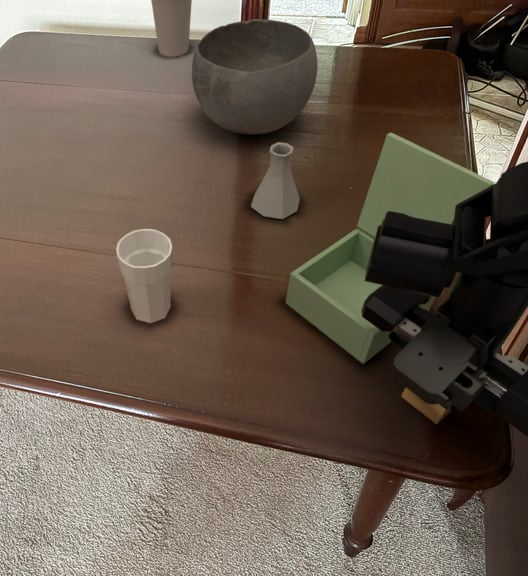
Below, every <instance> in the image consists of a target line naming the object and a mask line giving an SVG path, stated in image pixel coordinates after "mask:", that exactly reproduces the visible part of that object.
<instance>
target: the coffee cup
mask: <svg viewBox="0 0 528 576" xmlns="http://www.w3.org/2000/svg"><path fill="white" fill-rule="evenodd" d="M192 3H193V2H192V0H151V8H152V14H153V21H154V27H155V28H154V29H155V36H156V42H157V48H158V49H157V50H158V53H159V54H160V55H161V56H164V57H168V58H173V57H174V58H176V57H180V56H183V55H185V54H186V53H188V51H189V50H190V49H189V47H190V31H191V19H192Z"/></svg>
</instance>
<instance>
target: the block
mask: <svg viewBox="0 0 528 576" xmlns="http://www.w3.org/2000/svg"><path fill="white" fill-rule="evenodd" d="M400 397H402V399H404V400H405V402H406V401H407V402H408V403H409V404H410V405H411V406H413V408H415V409H416V410H418V411H419V412H421V414H422V415H424V416H425V417H426V418H428V419H429V420H430V421H432V422H433V423H434V424H435V425H438V424H439V423H440V422H441V421H443V420H444V418H445V417H447V416H448V415H449V414H450V413H452V411H450V409H451V407H452V406H450V407H449V408H448V409H447V410H446V409H444V408H443V407H442V406H441V405H439V404H434V405H432V404H428V403H425V402H424V401H423V400H421V399H420V398H419V397H418V396H417V395H416V394H414V393H413V392H412V391H411V390H409V389H408V388H407V387H405V388H404V390H403V392H402V393H401V396H400Z"/></svg>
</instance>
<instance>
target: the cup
mask: <svg viewBox="0 0 528 576" xmlns="http://www.w3.org/2000/svg"><path fill="white" fill-rule="evenodd" d="M115 250H116V256H117V261H118V265H119V270H120V274H121V275H122V277H123V279H124V285H125V288H126V293H127V296H128V301H129V305H130V311H131V312H132V314H133V316H134V317H135V319H136V320H138V321H141V322H145V323H148V324H154V323H155V322H158V321H162V320H163V319H166V318H167V315H168V313H169V311H170V309H171V287H172V285H171V284H172V283H171V282H172V280H171V279H172V267H173V244H172V240H171V238H170V237H169V236H168V235H167V234H165V233H164V232H162V231H160V230H157V229H155V228H154V229H153V228H142V229H135V230H132V231H130V232H128V233H127V234H124V236H123V237H121V239H119V240H118V242H117V244H116V249H115Z"/></svg>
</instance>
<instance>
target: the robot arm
mask: <svg viewBox="0 0 528 576" xmlns="http://www.w3.org/2000/svg"><path fill="white" fill-rule="evenodd" d="M487 218H490V222H489V223H490V227H489V238H486V237H487V236H486V235H487V234H486V233H487ZM374 238H375V239H374V243H373V246H372V250H371V254H370V258H369V262H368V266H367V270H366V275H365V280H364V281H366V282H370V283H375V284H379V285H382V286H381V287H379V288H378V289H377V290H375V291H374V292H373V293H371V294H370V295H369V296H368V297H367V299H366V300H365V301H364V304H363V308H362V311H361V312H362V317H363V318H364V319H366V320H367V321H369V322H370V323H371V324H373V325H374V326H375V327H377V328H378V329H380V330H381V331H382V332H391V331H392V330H393V331H392V332H391V333H390V334H389V339H390V340H391V343H393V344H394V345H396V346H397V347H399V348H400V349H401V350H400V351H399V352H398V353H397V354H396V355H395V356H394V357H393V364H392V365H393V366H392V368H393V369H392V370H393V371H392V374H393V378H394V379H395V380H396V381H397V382H398V383H399V384H400V385H403V386H404V387H405V388H406V387H407V388H408V389H409V390H411V391H412V392H413V393H414V394H416V395H417V396H418V397H419V398H420V399H421V400H423V401H424V402H425V403H428V404H432V405H434V404H439V405H441V406H442V407H443V408H444V409H446V410H447V409H448V408H449V407H450V406H452V407H451V409H450V411H451V413H455V412H459V411H461V412H463V411H464V410H465V409H467V408H468V407H471V406H474V405H478V406H480V407H481V408H482V409H483V410H485V411H486V412H488V413H497V415H498V417H499V418H501V419H502V420H504V421H505V422H506V423H508V424H509V425H510V426H512V427H513V428H514V429H516V430H517V431H519V432H520V433H522V434H523V435H524V436H525V437H528V365H527V364H526V363H524V362H523V361H521V360H519V359H518V358H517V357H515V356H513V355H510V354H509V355H502V354H500V353H499V352H500V350H501V348H502V347H503V346H504V344H505V342H506V341H507V339H508V338H509V337H510V335H511V334H512V332H513V330H514V329H515V327H516V326H517V324H518V322H519V321H520V319H521V318H522V316H523V315H524V313H525V311H526V310H527V309H528V161H523V162H521V163H517V164H516V165H513V166H512V167H510V168H508V169H506V170H504V172H502V173H501V174H500V177H499V178H498V180H497V182H494V184H493V185H492V186H490V187H488V188H486V189H484V190H482V191H481V192H479V193H477V194H475V195H473V196H472V197H470V198H468V199H466V200H464V201H462V202H461V203H459V204H457V205H456V206H455V215H454V219H453V222H452V224H447V223H441V222H436V221H431V220H425V219H420V218H415V217H411V216H408V215H406V214H403V213H398V212H393V211H388V212H386V215H385V218H384V219H383V221H382V224H381V226H380V225H379V226H378V229H377V232H376V236H375V237H374ZM457 273H459V274H458V275H457V277H456V274H457ZM455 277H456V280H455ZM454 280H455V281H454ZM453 282H454V284H453ZM452 284H453V285H452ZM451 286H452V288H451ZM445 288H447V289H449V288H451V289H450V292H449V294H448V296H447V297H446V300H445V301H444V302H443V303H442V304H441V305H440V306H438V308H437V311H436V312H435V313H432V312H430V310H429V311H427V310H425V309H422V308H421V307H419V305H420V304H426V303H427V302H429V300H430V298H431V296H434V297H435V298H439V297H441V295H442V293H443V292H444V289H445ZM395 326H396V328H395ZM394 329H395V330H394Z"/></svg>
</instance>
